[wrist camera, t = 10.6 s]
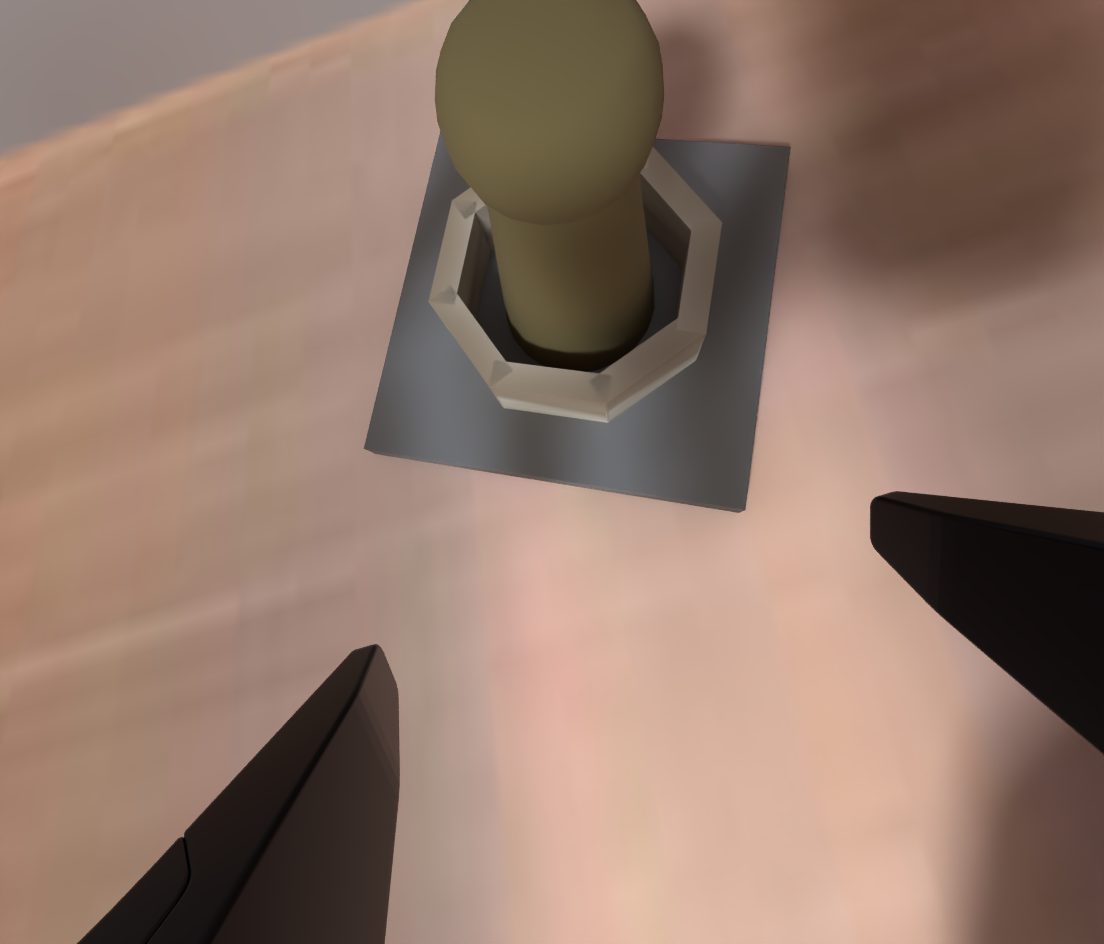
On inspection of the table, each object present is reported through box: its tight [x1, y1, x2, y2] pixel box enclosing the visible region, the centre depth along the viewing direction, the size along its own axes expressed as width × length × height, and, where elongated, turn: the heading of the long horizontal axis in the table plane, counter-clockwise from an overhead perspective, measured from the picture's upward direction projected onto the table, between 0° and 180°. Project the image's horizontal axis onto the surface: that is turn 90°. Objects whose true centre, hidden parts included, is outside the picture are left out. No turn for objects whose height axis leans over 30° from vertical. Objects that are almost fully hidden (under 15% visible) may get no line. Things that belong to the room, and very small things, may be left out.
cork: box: [435, 0, 664, 372], centre depth 16 cm, size 6×6×11 cm
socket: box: [364, 131, 790, 513], centre depth 20 cm, size 15×15×4 cm
